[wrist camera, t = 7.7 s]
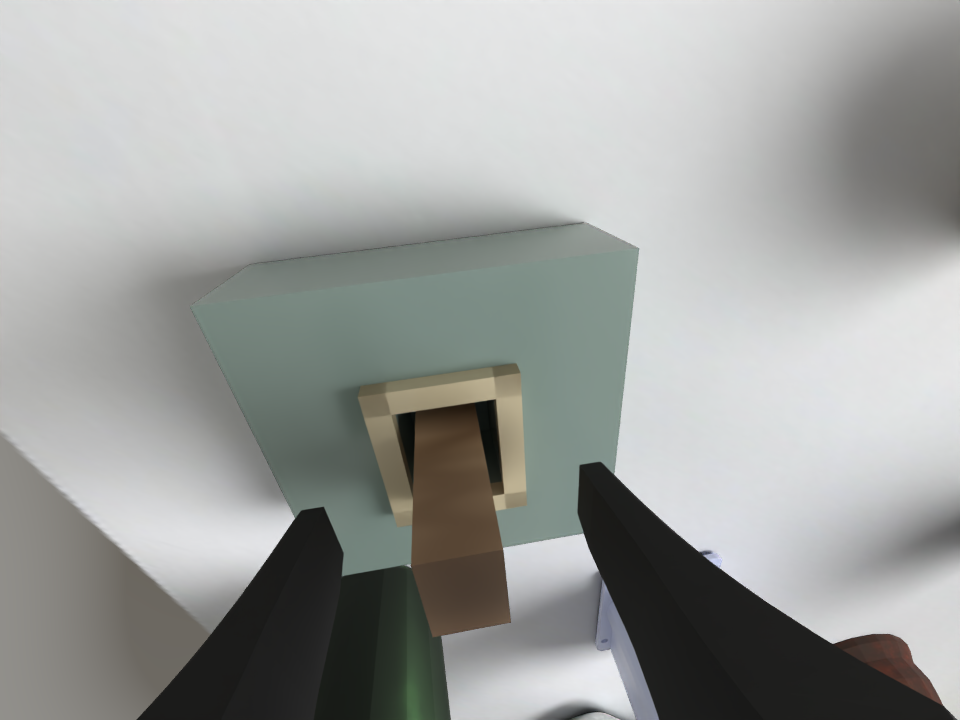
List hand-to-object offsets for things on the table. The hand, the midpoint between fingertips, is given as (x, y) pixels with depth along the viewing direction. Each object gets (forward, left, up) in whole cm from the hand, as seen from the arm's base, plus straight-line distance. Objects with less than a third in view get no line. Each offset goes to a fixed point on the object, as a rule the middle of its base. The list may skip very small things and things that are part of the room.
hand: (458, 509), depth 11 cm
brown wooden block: (0, 0, -6) cm, 6 cm away
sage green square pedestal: (0, 0, -7) cm, 7 cm away
